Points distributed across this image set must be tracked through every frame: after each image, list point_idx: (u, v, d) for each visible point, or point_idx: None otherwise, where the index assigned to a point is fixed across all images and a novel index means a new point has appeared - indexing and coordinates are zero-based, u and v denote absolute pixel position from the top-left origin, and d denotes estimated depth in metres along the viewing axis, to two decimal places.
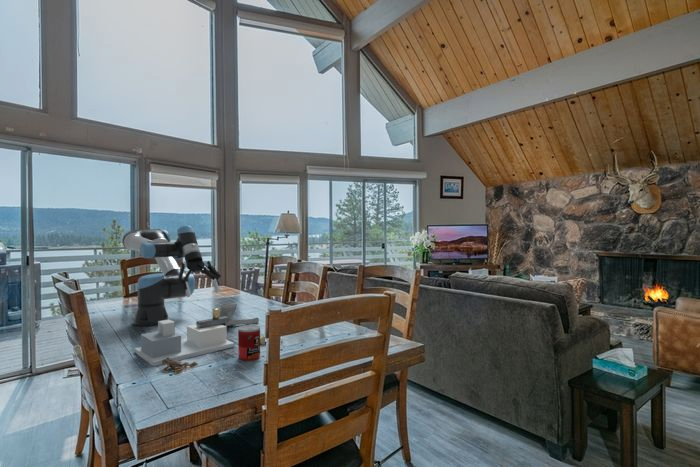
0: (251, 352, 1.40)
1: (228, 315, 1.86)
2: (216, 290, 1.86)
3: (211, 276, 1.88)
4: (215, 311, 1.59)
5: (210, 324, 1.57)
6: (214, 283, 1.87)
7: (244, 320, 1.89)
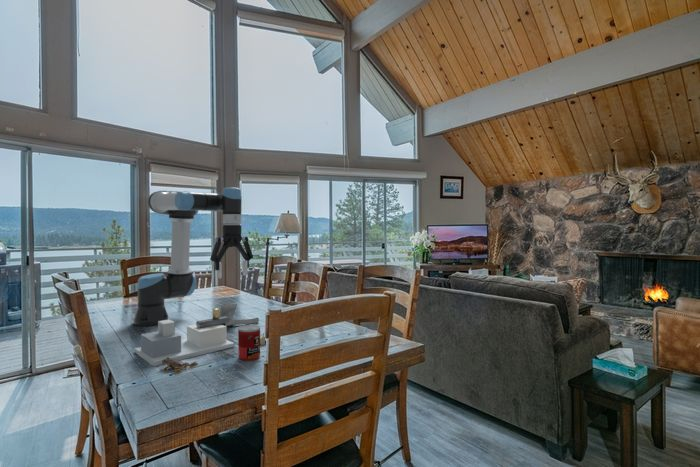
0: (251, 352, 1.40)
1: (228, 315, 1.86)
2: (244, 273, 1.69)
3: (243, 255, 1.68)
4: (215, 311, 1.59)
5: (210, 324, 1.57)
6: (244, 264, 1.69)
7: (244, 320, 1.89)
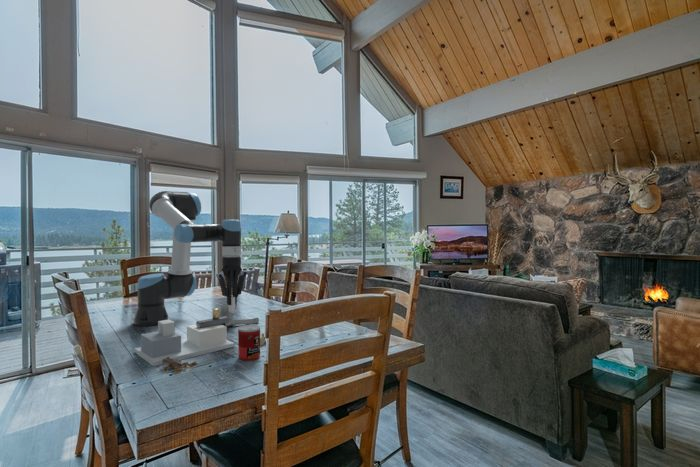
0: (251, 352, 1.40)
1: (228, 315, 1.86)
2: None
3: (233, 290, 1.65)
4: (215, 311, 1.59)
5: (210, 324, 1.57)
6: None
7: (244, 320, 1.89)
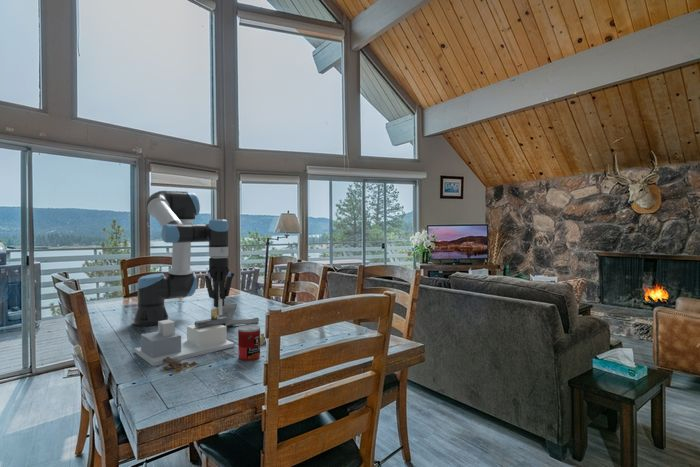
0: (251, 352, 1.40)
1: (228, 315, 1.86)
2: None
3: (220, 291, 1.61)
4: (213, 311, 1.59)
5: (208, 324, 1.57)
6: None
7: (244, 320, 1.89)
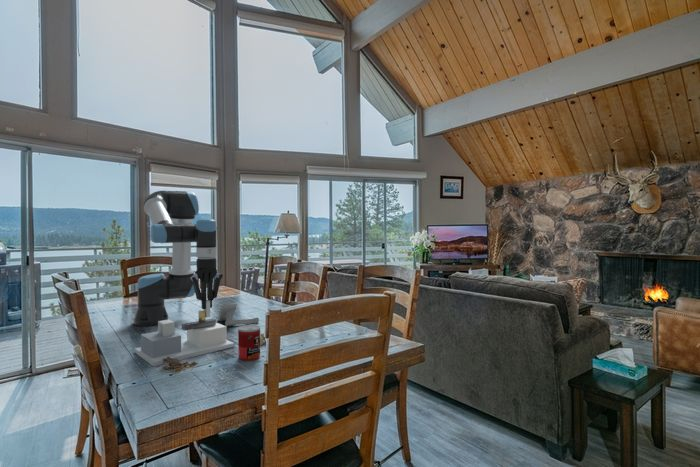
0: (251, 352, 1.40)
1: (228, 315, 1.86)
2: None
3: (208, 293, 1.58)
4: (201, 313, 1.55)
5: (196, 327, 1.53)
6: None
7: (244, 320, 1.89)
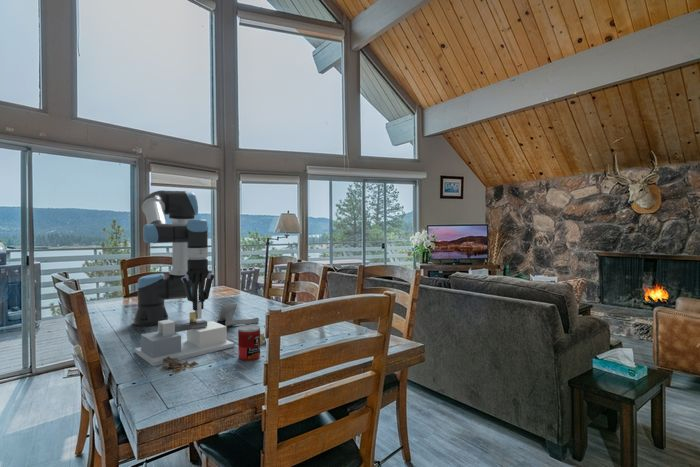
0: (251, 352, 1.40)
1: (228, 315, 1.86)
2: None
3: (199, 294, 1.55)
4: (192, 315, 1.52)
5: (186, 328, 1.50)
6: None
7: (244, 320, 1.89)
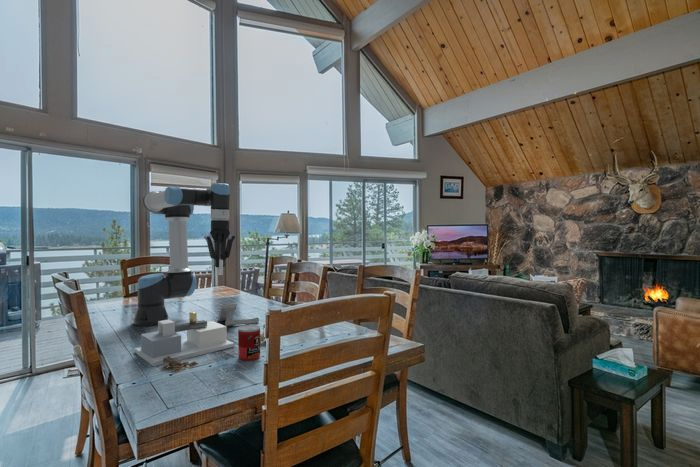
0: (251, 352, 1.40)
1: (228, 315, 1.86)
2: None
3: (221, 253, 1.69)
4: (192, 315, 1.52)
5: (186, 328, 1.50)
6: None
7: (244, 320, 1.89)
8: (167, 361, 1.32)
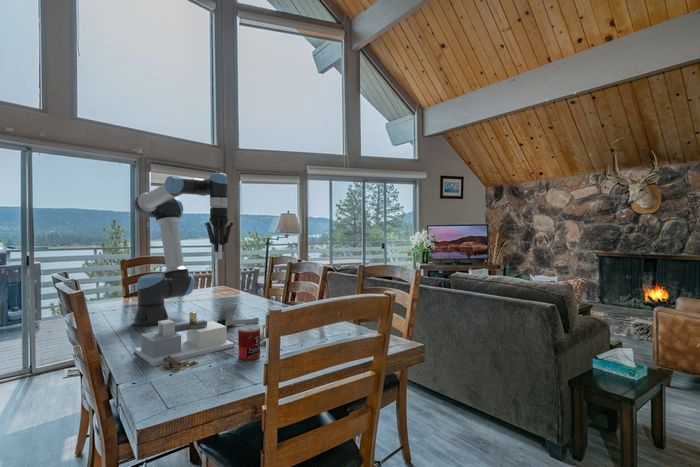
0: (251, 352, 1.40)
1: (228, 315, 1.86)
2: None
3: (220, 238, 1.80)
4: (192, 315, 1.52)
5: (186, 328, 1.50)
6: None
7: (244, 320, 1.89)
8: (167, 360, 1.33)
